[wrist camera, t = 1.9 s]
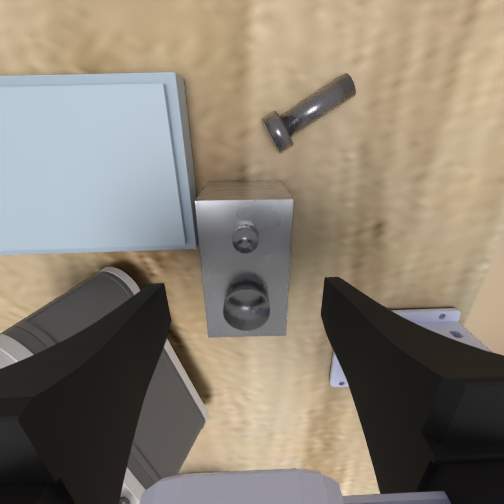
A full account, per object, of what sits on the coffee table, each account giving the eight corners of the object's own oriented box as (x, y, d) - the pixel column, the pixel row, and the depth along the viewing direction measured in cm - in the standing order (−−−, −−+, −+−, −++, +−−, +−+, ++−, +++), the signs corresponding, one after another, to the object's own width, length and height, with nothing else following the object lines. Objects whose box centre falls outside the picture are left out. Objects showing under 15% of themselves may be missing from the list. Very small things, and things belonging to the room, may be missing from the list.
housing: (280, 180, 17) (297, 204, 11) (276, 288, 20) (288, 348, 15) (208, 181, 17) (190, 206, 11) (216, 290, 20) (206, 350, 15)
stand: (183, 79, 14) (172, 69, 12) (201, 236, 18) (195, 252, 16) (-46, 84, 14) (-101, 75, 12) (21, 242, 18) (-12, 259, 16)
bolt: (338, 68, 14) (352, 58, 12) (352, 104, 15) (367, 101, 13) (260, 120, 15) (263, 118, 13) (277, 152, 16) (282, 155, 14)
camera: (138, 259, 17) (-85, 410, 9) (223, 419, 23) (137, 600, 15) (61, 270, 22) (-136, 377, 13) (149, 402, 27) (51, 534, 19)
